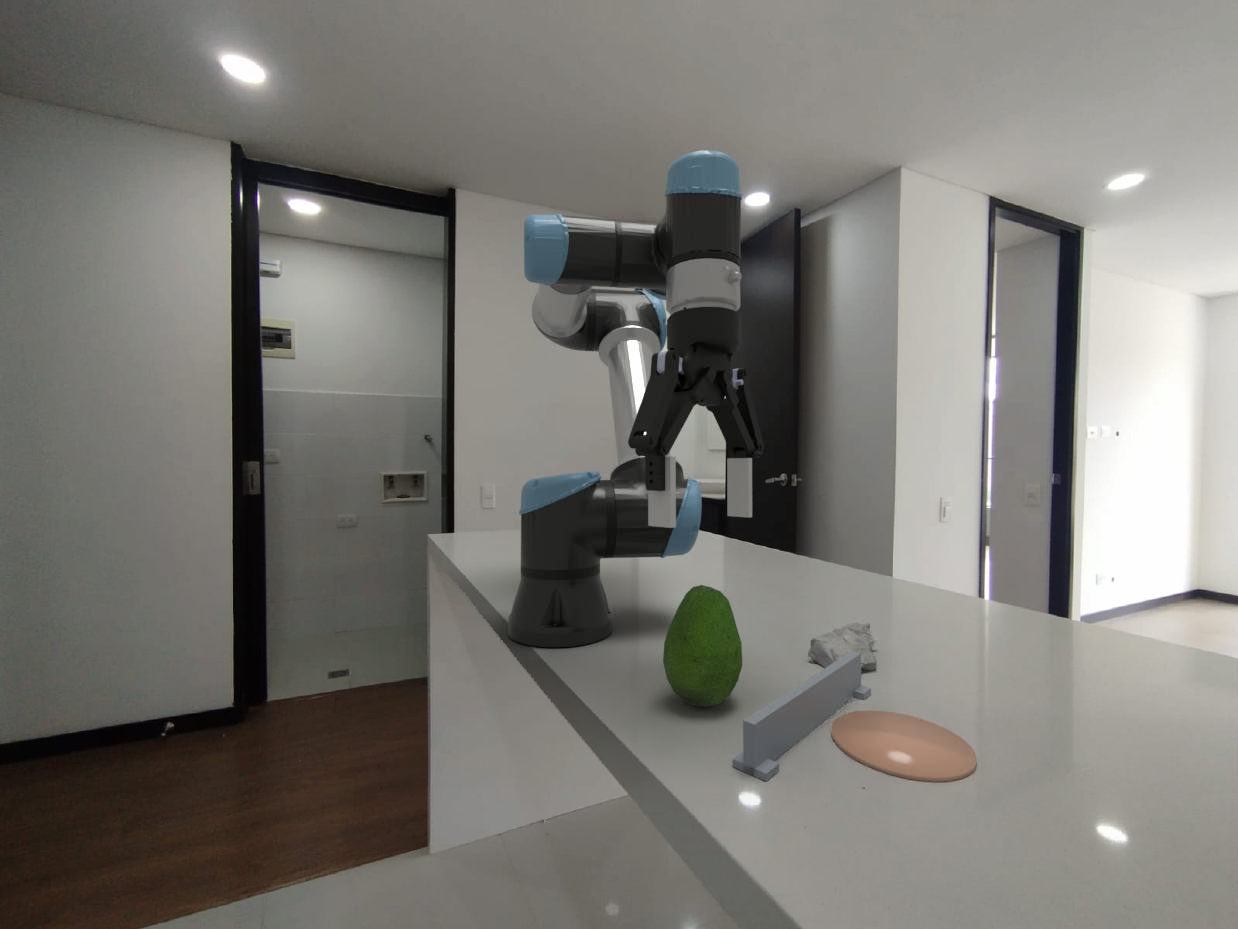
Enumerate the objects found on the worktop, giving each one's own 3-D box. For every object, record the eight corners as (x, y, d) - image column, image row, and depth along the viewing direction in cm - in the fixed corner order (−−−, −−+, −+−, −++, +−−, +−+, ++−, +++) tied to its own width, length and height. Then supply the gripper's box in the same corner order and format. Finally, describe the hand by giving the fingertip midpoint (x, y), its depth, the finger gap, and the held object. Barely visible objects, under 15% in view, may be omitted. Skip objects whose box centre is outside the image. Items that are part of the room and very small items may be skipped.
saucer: (810, 745, 46) (810, 740, 46) (858, 704, 54) (858, 700, 54) (957, 800, 38) (957, 794, 38) (989, 743, 46) (989, 738, 46)
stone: (909, 664, 66) (909, 630, 66) (846, 682, 60) (846, 644, 60) (862, 650, 72) (862, 618, 72) (800, 664, 65) (800, 630, 65)
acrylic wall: (732, 766, 43) (732, 716, 43) (842, 685, 58) (842, 649, 58) (766, 781, 41) (766, 729, 41) (871, 693, 56) (870, 655, 56)
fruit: (736, 727, 49) (736, 597, 49) (654, 713, 52) (654, 590, 52) (747, 693, 57) (746, 580, 57) (674, 683, 59) (674, 575, 59)
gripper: (652, 273, 43) (653, 535, 43) (794, 329, 61) (794, 515, 61) (589, 294, 48) (589, 528, 48) (736, 340, 66) (737, 511, 66)
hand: (704, 521), depth 55 cm, fingers open, 13 cm apart
